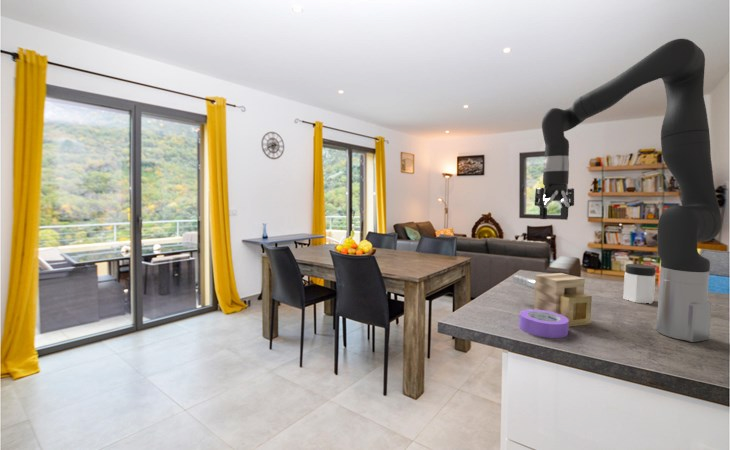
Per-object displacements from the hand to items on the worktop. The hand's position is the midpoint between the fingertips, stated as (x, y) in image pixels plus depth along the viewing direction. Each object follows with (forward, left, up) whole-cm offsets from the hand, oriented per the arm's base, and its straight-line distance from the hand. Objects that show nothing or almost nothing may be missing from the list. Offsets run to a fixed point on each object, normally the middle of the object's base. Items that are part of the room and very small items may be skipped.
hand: (553, 219), depth 119 cm
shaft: (-6, +11, -22) cm, 25 cm away
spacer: (-20, +11, -28) cm, 36 cm away
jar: (-8, -30, -28) cm, 42 cm away
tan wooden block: (-14, +11, -28) cm, 33 cm away
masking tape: (-21, +23, -28) cm, 42 cm away
